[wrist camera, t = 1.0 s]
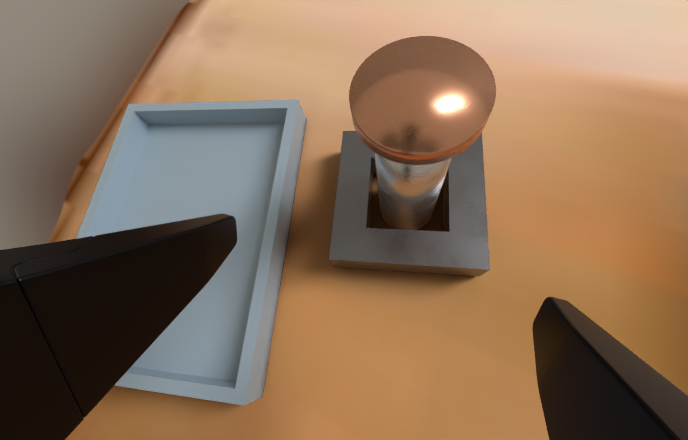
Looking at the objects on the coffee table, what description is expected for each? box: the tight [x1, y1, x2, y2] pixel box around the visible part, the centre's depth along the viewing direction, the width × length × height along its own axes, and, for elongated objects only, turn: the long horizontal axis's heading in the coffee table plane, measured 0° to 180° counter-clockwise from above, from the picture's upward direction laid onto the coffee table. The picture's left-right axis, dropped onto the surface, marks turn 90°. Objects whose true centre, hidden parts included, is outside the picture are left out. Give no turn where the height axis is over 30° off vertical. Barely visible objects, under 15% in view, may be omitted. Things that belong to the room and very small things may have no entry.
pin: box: [349, 36, 496, 230], centre depth 18 cm, size 6×6×12 cm
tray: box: [76, 100, 307, 406], centre depth 24 cm, size 22×16×3 cm
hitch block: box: [329, 131, 490, 276], centre depth 22 cm, size 10×10×2 cm
